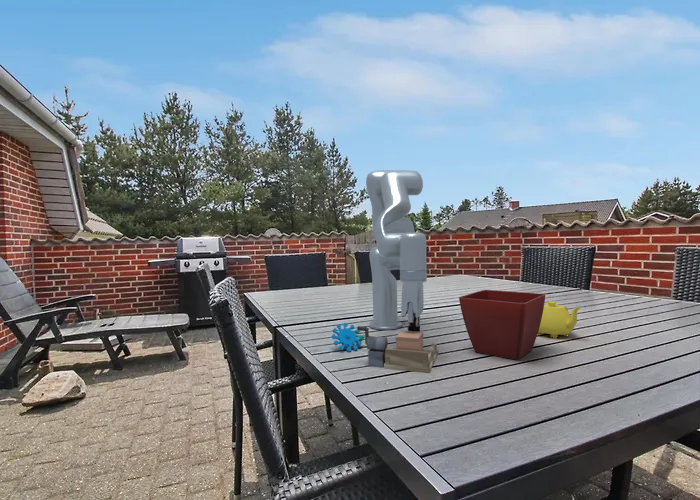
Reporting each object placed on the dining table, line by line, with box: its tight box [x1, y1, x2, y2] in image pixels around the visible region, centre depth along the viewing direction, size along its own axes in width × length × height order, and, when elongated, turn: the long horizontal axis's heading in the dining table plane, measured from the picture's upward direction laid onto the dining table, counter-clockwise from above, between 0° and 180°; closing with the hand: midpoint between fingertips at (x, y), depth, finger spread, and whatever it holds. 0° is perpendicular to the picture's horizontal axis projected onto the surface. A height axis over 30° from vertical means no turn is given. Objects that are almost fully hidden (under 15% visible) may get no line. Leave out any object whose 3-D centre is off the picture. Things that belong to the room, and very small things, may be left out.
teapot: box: [538, 301, 582, 339], centre depth 130 cm, size 20×15×12 cm
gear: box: [331, 322, 365, 353], centre depth 120 cm, size 11×6×10 cm
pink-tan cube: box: [395, 330, 424, 351], centre depth 103 cm, size 7×6×7 cm
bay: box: [356, 325, 439, 373], centre depth 108 cm, size 17×20×10 cm
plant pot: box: [458, 289, 546, 360], centre depth 113 cm, size 19×19×17 cm
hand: (414, 339), depth 109 cm, fingers closed
